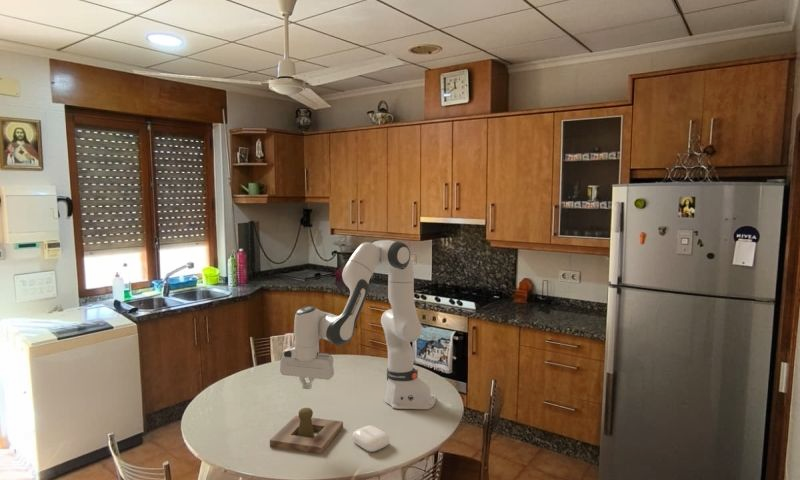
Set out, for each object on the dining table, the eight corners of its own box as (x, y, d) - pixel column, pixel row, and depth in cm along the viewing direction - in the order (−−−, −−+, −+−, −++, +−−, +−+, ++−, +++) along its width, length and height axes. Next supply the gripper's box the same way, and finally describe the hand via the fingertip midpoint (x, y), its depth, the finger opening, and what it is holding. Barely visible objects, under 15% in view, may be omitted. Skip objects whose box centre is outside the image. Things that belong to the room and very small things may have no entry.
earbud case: (370, 434, 180) (370, 420, 180) (393, 447, 170) (393, 432, 170) (348, 443, 173) (348, 429, 173) (370, 457, 164) (370, 442, 163)
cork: (315, 433, 180) (314, 405, 179) (312, 441, 174) (312, 412, 173) (299, 433, 180) (298, 405, 179) (296, 442, 174) (295, 412, 173)
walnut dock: (343, 429, 183) (343, 421, 183) (321, 455, 164) (321, 447, 164) (296, 422, 189) (295, 415, 188) (269, 448, 169) (269, 439, 169)
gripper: (336, 351, 174) (336, 388, 175) (286, 346, 179) (286, 382, 180) (329, 356, 168) (329, 394, 169) (277, 351, 173) (278, 388, 174)
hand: (307, 388), depth 175 cm, fingers closed
